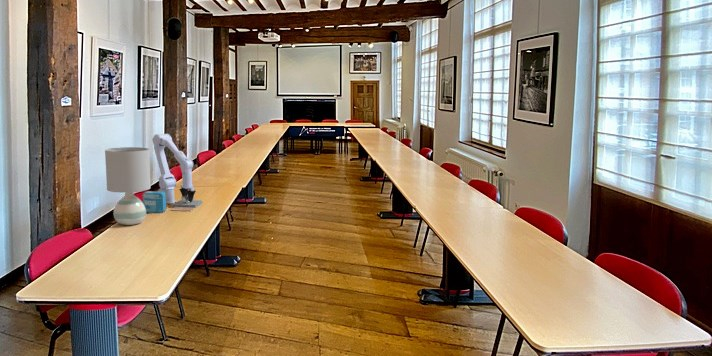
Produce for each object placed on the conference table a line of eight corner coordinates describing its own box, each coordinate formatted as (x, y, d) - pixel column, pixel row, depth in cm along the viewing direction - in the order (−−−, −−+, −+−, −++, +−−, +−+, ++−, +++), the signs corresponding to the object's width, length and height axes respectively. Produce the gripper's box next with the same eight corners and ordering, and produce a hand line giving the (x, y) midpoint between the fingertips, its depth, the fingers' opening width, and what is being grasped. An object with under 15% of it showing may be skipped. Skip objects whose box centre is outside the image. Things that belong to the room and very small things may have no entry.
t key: (183, 206, 338) (183, 197, 337) (181, 205, 340) (181, 196, 339) (194, 205, 343) (193, 195, 342) (192, 204, 344) (191, 195, 343)
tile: (170, 210, 325) (170, 209, 325) (175, 207, 333) (175, 207, 333) (190, 211, 325) (190, 210, 325) (194, 208, 333) (194, 207, 333)
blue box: (143, 212, 320) (142, 192, 318) (146, 210, 324) (145, 191, 322) (163, 213, 319) (162, 193, 317) (166, 211, 324) (165, 191, 322)
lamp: (99, 225, 288) (95, 150, 281) (129, 217, 308) (126, 146, 301) (131, 230, 280) (128, 152, 274) (160, 221, 300) (158, 148, 294)
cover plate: (172, 207, 334) (172, 204, 334) (180, 202, 348) (180, 199, 348) (195, 208, 334) (195, 205, 334) (202, 203, 348) (202, 200, 348)
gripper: (198, 180, 336) (199, 201, 338) (187, 177, 346) (188, 197, 349) (187, 181, 331) (188, 203, 333) (177, 178, 342) (177, 199, 344)
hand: (187, 200), depth 341 cm, fingers open, 7 cm apart
